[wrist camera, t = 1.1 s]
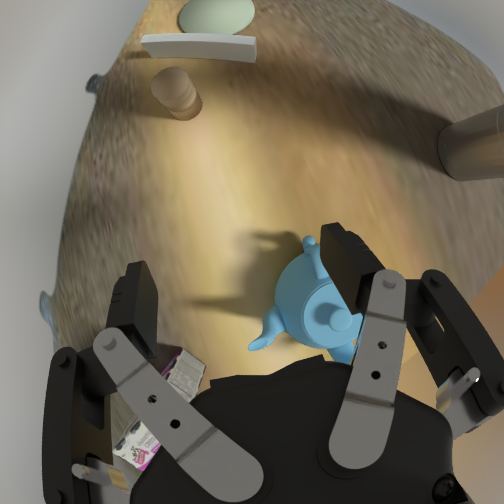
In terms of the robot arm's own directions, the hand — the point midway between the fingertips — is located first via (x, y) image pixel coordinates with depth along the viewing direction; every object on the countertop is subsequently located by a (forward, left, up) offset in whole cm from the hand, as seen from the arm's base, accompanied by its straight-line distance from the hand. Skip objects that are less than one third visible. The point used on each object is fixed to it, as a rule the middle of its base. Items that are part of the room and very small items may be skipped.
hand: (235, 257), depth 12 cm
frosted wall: (-3, -27, -24) cm, 36 cm away
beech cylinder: (+2, -19, -24) cm, 31 cm away
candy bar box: (+20, +17, -24) cm, 35 cm away
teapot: (-5, +13, -24) cm, 28 cm away
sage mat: (-8, -34, -24) cm, 43 cm away
